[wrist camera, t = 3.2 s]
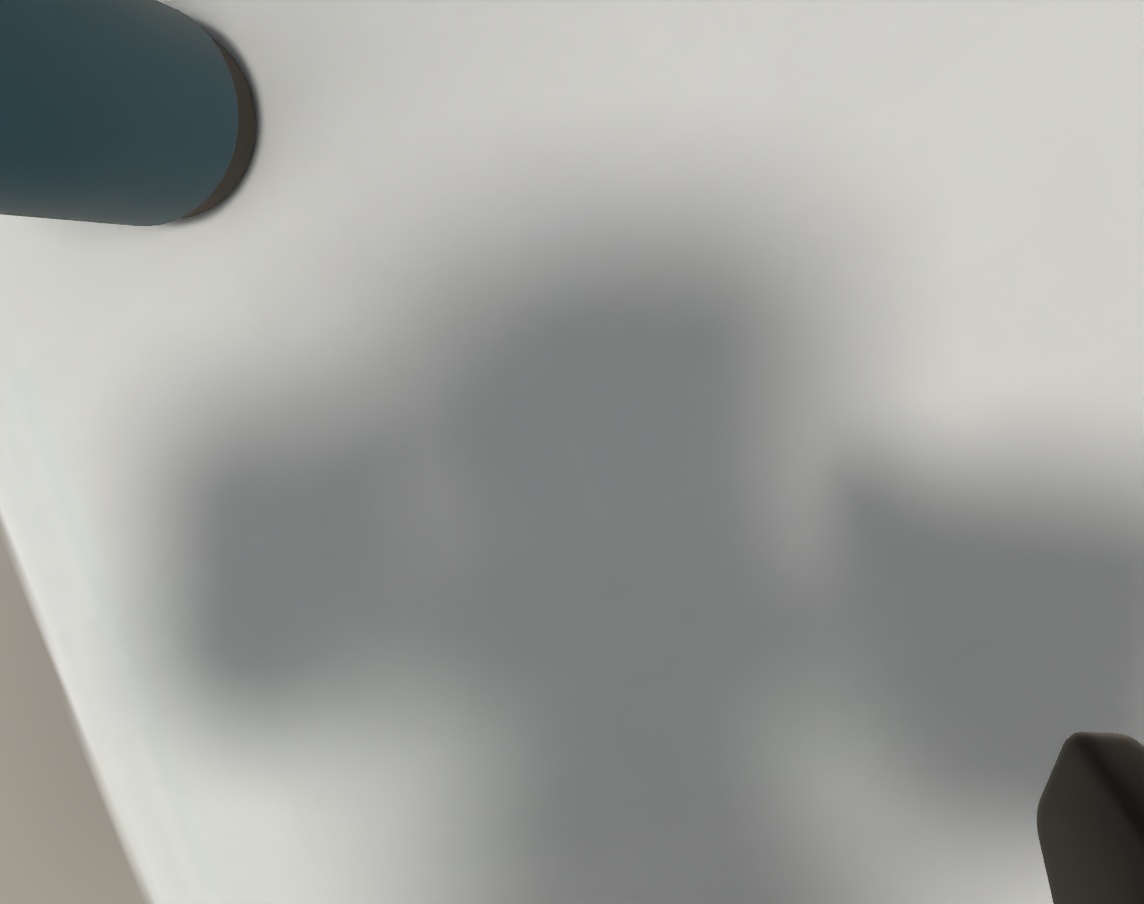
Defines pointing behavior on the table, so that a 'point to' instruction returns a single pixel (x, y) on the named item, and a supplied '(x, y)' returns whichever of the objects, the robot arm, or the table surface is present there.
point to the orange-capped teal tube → (117, 113)
